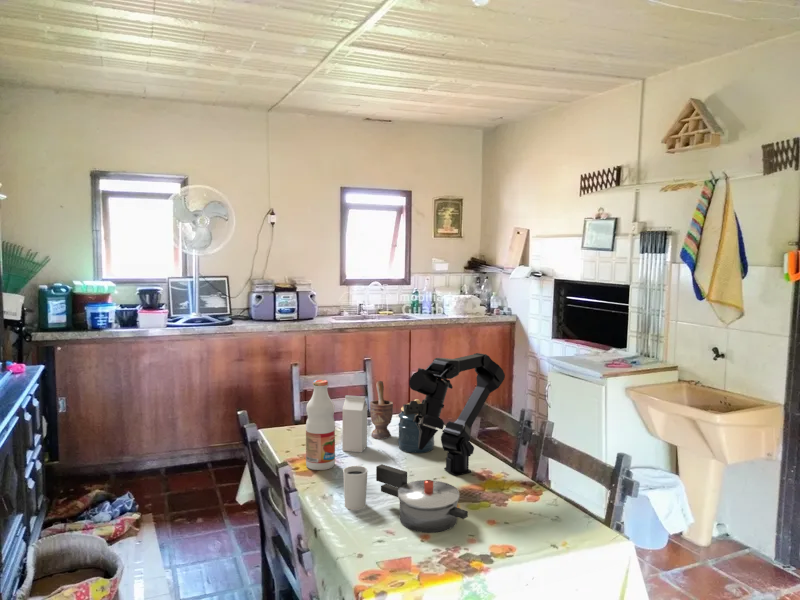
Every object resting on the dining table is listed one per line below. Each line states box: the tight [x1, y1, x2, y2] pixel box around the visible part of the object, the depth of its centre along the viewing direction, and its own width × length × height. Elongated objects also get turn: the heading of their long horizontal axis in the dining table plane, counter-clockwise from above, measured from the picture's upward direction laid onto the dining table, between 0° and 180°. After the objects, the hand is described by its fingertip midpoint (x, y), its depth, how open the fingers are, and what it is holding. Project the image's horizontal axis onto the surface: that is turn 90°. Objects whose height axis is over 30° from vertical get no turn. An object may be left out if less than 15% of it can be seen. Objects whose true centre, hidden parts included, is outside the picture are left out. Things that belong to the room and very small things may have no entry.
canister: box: [397, 398, 435, 454], centre depth 212 cm, size 13×13×18 cm
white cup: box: [342, 465, 369, 511], centre depth 164 cm, size 7×7×10 cm
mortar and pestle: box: [369, 380, 394, 440], centre depth 226 cm, size 12×9×20 cm
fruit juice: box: [305, 379, 336, 471], centre depth 193 cm, size 9×9×28 cm
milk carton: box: [341, 395, 368, 453], centre depth 210 cm, size 7×7×19 cm
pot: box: [380, 483, 469, 534], centre depth 157 cm, size 15×27×6 cm, turn 51°
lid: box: [375, 464, 460, 510], centre depth 158 cm, size 16×25×4 cm, turn 52°
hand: (420, 449), depth 177 cm, fingers closed
